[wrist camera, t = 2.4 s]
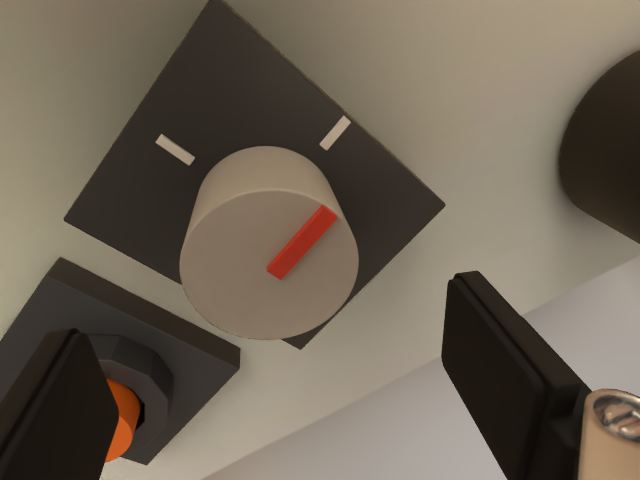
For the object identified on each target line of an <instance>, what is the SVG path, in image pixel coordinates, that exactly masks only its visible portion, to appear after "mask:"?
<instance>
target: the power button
mask: <svg viewBox="0 0 640 480" xmlns="http://www.w3.org/2000/svg"><path fill="white" fill-rule="evenodd" d="M107 382H108V384H109V387H110V389H111V391H112V394H113V396H114V398H115V401H116V403H117V405H118V408H119V421H118V425H117V428H116V431H115V434H114V437H113V440H112V443H111V446H110V449H109V452H108V454H107V457H106V460H105V462H108V461H111V460H113V459H115V458H117V457H119V456H120V455H122V454H123V453H124V452H125V451H126V450H127V449H128V448H129V446H130V444H131V442H132V439H133V435H134V432H135V428H136V424H137V421H138V417H139V413H140V404H139V400H138V399H137V397H136V395H135V394H134V393H133V392H132V391H131V390H130V389H129V388H127V387H126V386H124V385H122V384H119V383H117V382H114V381H112V380H110V379H107Z"/></svg>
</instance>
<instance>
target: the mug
mask: <svg viewBox="0 0 640 480" xmlns="http://www.w3.org/2000/svg"><path fill="white" fill-rule="evenodd" d="M559 165H560V175H561V180H562V184H563V186H564V188H565V190H566V192H567V194H568V196H569V198H570V199H571V200H572V202H573V203H574V204H575V205H576V206H577V207H578V208H580V209H581V210H583V211H584V212H586V213H588V214H589V215H591V216H593V217H594V218H596V219H598V220H600V221H601V222H603V223H605V224H606V225H608V226H610V227H612V228H613V229H615V230H617V231H618V232H620V233H622V234H624V235H625V236H627V237H629V238H630V239H632V240H634V241H635V242H637V243H639V244H640V51H637V52H635V53H634V54H632V55H630V56H628V57H626V58H625V59H623V60H622V61H620V62H619V63H618V64H616V65H615V66H613V67H612V68H611V69H610V70H609V71H607V72H606V73H605V74H604V75H603V76H602V77H601V78H600V79H599V80H598V81H597V82H596V83H595V84H594V85H593V87H592V88H591V89H590V90H589V91H588V92H587V94H586V95H585V96H584V98H583V99H582V101H581V102H580V104H579V105H578V106H577V108H576V110H575V112H574V114H573V116H572V117H571V119H570V122H569V124H568V126H567V129H566V131H565V134H564V137H563V141H562V145H561V150H560V159H559Z"/></svg>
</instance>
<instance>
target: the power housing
mask: <svg viewBox="0 0 640 480" xmlns="http://www.w3.org/2000/svg"><path fill="white" fill-rule="evenodd" d="M70 328H77V329H78V330H79V331H80V333H86V334H87V336H88V337H89V340H90V342H91V344H92V347H93V349H94V351H95V354H96V356H97V358H98V361H99V363H100V365H101V368H102V370H103V372H104V375H105V377H106V379H110V380H112V381H114V382H117V383H119V384H122V385H124V386H126V387H127V388H129V389H130V390H131V391H132V392H133V393H134V394H135V395H136V397H137V399H138V400H139V404H140V413H139V417H138V421H137V424H136V428H135V432H134V435H133V439H132V442H131V444H130V446H129V448H128V449H127V450H126V451H125V452H124V453H123V454H122V455H120V456H119V457H122V458H125V459H128V460H131V461H135V462H138V463H141V464H144V465H148V464H149V463H150V462H151V460H152V459H153V458H154V457H155V456H156V455H157V454H158V453H159V452H160V451H161V450H162V449H163V448H164V447H165V446H166V445H167V444H168V443H169V442H170V441H171V440H172V439H173V438H174V437H175V435H176V434H177V433H178V432H179V431H180V430H181V429H182V428H183V427H184V426H185V425H186V424H187V423H188V422H189V421H190V420H191V419H192V418H193V417H194V416H195V415H196V414H197V413H198V411H199V410H200V409H201V408H202V407H203V406H204V405H205V404H206V403H207V402H208V401H209V400H210V399H211V398H212V397H213V396H214V395H215V394H216V393H217V392H218V391H219V390H220V389H221V388H222V386H223V385H224V384H225V383H226V382H227V381H228V380H229V379H230V378H231V377H232V376H233V375H234V374H235V373H236V372H237V371H238V370H239V368H240V348H238V347H236V346H234V345H232V344H230V343H228V342H226V341H225V340H223V339H221V338H219V337H217V336H215V335H213V334H211V333H209V332H207V331H205V330H203V329H201V328H199V327H197V326H195V325H193V324H191V323H189V322H187V321H185V320H183V319H181V318H179V317H177V316H175V315H173V314H171V313H169V312H167V311H165V310H163V309H161V308H160V307H158V306H156V305H154V304H152V303H150V302H148V301H146V300H144V299H142V298H140V297H138V296H136V295H134V294H132V293H130V292H128V291H126V290H124V289H122V288H120V287H118V286H116V285H114V284H112V283H110V282H108V281H106V280H104V279H102V278H100V277H98V276H96V275H94V274H93V273H91V272H89V271H87V270H85V269H83V268H81V267H79V266H77V265H75V264H73V263H71V262H69V261H67V260H65V259H63V258H61V257H60V258H59V259H58V260H57V261H56V262H55V264H54V265H53V266H52V268H51V269H50V270H49V271H48V273H47V274H46V275H45V277H44V278H43V280H42V281H41V282H40V284H39V285H38V287H37V288H36V290H35V291H34V293H33V294H32V296H31V297H30V298H29V300H28V301H27V303H26V304H25V306H24V307H23V309H22V310H21V312H20V313H19V314H18V316H17V317H16V319H15V320H14V322H13V323H12V325H11V326H10V328H9V329H8V331H7V332H6V333H5V335H4V336H3V338H2V339H1V341H0V403H1V401H2V400H3V398H4V397H5V395H6V394H7V392H8V391H9V389H10V388H11V386H12V385H13V383H14V382H15V380H16V379H17V377H18V376H19V374H20V373H21V371H22V370H23V368H24V367H25V365H26V364H27V362H28V361H29V359H30V358H31V356H32V355H33V353H34V352H35V350H36V349H37V347H38V346H39V344H40V343H41V341H42V340H43V338H44V337H45V335H46V334H47V333H48V332H50V331H56V330H63V329H70Z"/></svg>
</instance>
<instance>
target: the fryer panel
mask: <svg viewBox="0 0 640 480" xmlns="http://www.w3.org/2000/svg"><path fill="white" fill-rule="evenodd" d="M257 146H274V147H280V148H285V149H288V150H291V151H294V152H296V153H298V154H300V155H302V156H304V157H305V158H307V159H308V160H310V161H311V162H312V163H313V164H315V165H316V166H317V167H318V168H319V169H320V171H321V172H322V173H323V174H324V176H325V178H326V179H327V181H328V183H329V185H330V187H331V189H332V191H333V193H334V195H335V197H336V200H337V202H338V204H339V206H340V208H341V210H342V212H343V214H344V216H345V219H346V221H347V223H348V225H349V227H350V229H351V231H352V234H353V236H354V238H355V241H356V245H357V249H358V257H359V263H358V272H357V277H356V281H355V284H354V286H353V289H352V291H351V293H350V295H349V297H348V298H347V300H346V301H345V302H344V304H343V305H342V306H341V307H340V309H339V310H338V311H337V312H336V313H335V314H334V315H333V316H331V317H330V318H329V319H328V320H326V321H325V322H324V323H322V324H321V325H319V326H317V327H315V328H314V329H312V330H309V331H307V332H305V333H302V334H299V335H296V336H293V337H288V338H283V339H281V340H283V341H285V342H287V343H289V344H291V345H292V346H294V347H296V348H298V349H300V350H301V349H302V348H303V347H304V346H305V345H306V344H307V343H308V342H309V341H310V340H311V339H312V338H313V337H314V336H315V335H316V334H317V333H318V332H319V331H320V330H321V329H322V328H323V327H324V326H325V325H326V324H327V323H328V322H329V321H330V320H331V319H332V318H333V317H334V316H335V315H336V314H337V313H338V312H339V311H340V310H341V309H342V308H343V307H344V306H345V305H346V304H347V303H348V302H349V301H350V300H351V299H352V298H353V297H354V296H355V295H356V294H357V293H358V292H359V291H360V290H361V289H362V288H363V287H364V286H365V285H367V284H368V283H369V282H370V281H371V280H372V279H373V278H374V277H375V276H376V275H377V274H378V273H379V272H380V271H381V270H382V269H383V268H384V267H385V266H386V265H387V264H388V263H389V262H390V261H391V260H392V259H393V258H394V257H395V256H396V255H397V254H398V253H399V252H400V251H401V250H402V249H403V248H404V247H405V246H406V245H407V244H408V243H409V242H410V241H411V240H412V239H413V238H414V237H415V236H416V235H417V234H418V233H419V232H420V231H421V230H422V229H423V228H424V227H425V226H426V225H427V224H428V223H429V222H430V221H431V220H432V219H433V218H434V217H435V216H436V215H437V214H438V213H439V212H440V211H441V210H442V209H443V208H444V207H445V203H444V202H443V201H442V200H441V199H440V198H439V197H438V196H437V195H436V194H435V193H434V192H433V191H432V190H430V189H429V188H428V187H427V186H426V185H425V184H424V183H423V182H422V181H421V180H420V179H419V178H418V177H417V176H416V175H415V174H414V173H413V172H412V171H410V170H409V169H408V168H407V167H406V166H405V165H404V164H403V163H402V162H401V161H399V160H398V159H397V158H396V157H395V156H394V155H393V154H392V153H391V152H390V151H388V150H387V149H386V148H385V147H384V146H383V145H382V144H381V143H380V142H379V141H377V140H376V139H375V138H374V137H373V136H372V135H371V134H370V133H369V132H368V131H366V130H365V129H364V128H363V127H362V126H361V125H360V124H359V123H358V122H357V121H355V120H354V119H353V118H352V117H351V116H350V115H349V114H348V113H347V112H346V111H344V110H343V109H342V108H341V107H340V106H339V105H338V104H337V103H336V102H335V101H333V100H332V99H331V98H330V97H329V96H328V95H327V94H326V93H325V92H324V91H322V90H321V89H320V88H319V87H318V86H317V85H316V84H315V83H314V82H313V81H311V80H310V79H309V78H308V77H307V76H306V75H305V74H304V73H303V72H302V71H300V70H299V69H298V68H297V67H296V66H295V65H294V64H293V63H292V62H291V61H289V60H288V59H287V58H286V57H285V56H284V55H283V54H282V53H281V52H280V51H278V50H277V49H276V48H275V47H274V46H273V45H272V44H271V43H270V42H269V41H267V40H266V39H265V38H264V37H263V36H262V35H261V34H260V33H259V32H258V31H256V30H255V29H254V28H253V27H252V26H251V25H250V24H249V23H248V22H247V21H245V20H244V19H243V18H242V17H241V16H240V15H239V14H238V13H237V12H236V11H234V10H233V9H232V8H231V7H230V6H229V5H228V4H227V3H226V2H225V1H223V0H209V1H208V3H207V4H206V6H205V7H204V9H203V10H202V12H201V13H200V15H199V16H198V18H197V19H196V21H195V22H194V24H193V25H192V27H191V28H190V30H189V31H188V33H187V34H186V36H185V37H184V39H183V40H182V42H181V43H180V45H179V46H178V48H177V49H176V51H175V52H174V54H173V55H172V57H171V58H170V60H169V61H168V63H167V64H166V66H165V67H164V69H163V70H162V72H161V73H160V75H159V76H158V78H157V79H156V81H155V82H154V84H153V85H152V87H151V88H150V90H149V91H148V93H147V94H146V96H145V97H144V99H143V100H142V102H141V103H140V105H139V106H138V108H137V109H136V111H135V112H134V114H133V115H132V117H131V118H130V120H129V121H128V123H127V124H126V126H125V127H124V129H123V130H122V132H121V133H120V135H119V136H118V138H117V139H116V141H115V142H114V144H113V145H112V147H111V148H110V150H109V151H108V153H107V154H106V156H105V157H104V159H103V160H102V162H101V163H100V165H99V166H98V168H97V169H96V171H95V172H94V174H93V175H92V177H91V178H90V180H89V181H88V183H87V184H86V186H85V187H84V189H83V190H82V192H81V193H80V195H79V196H78V198H77V199H76V201H75V202H74V204H73V205H72V207H71V208H70V210H69V211H68V213H67V214H66V216H65V217H64V221H65V222H67V223H69V224H71V225H72V226H74V227H76V228H78V229H80V230H82V231H83V232H85V233H87V234H89V235H91V236H93V237H94V238H96V239H98V240H100V241H102V242H104V243H105V244H107V245H109V246H111V247H113V248H115V249H116V250H118V251H120V252H122V253H124V254H126V255H127V256H129V257H131V258H133V259H135V260H137V261H138V262H140V263H142V264H144V265H146V266H148V267H149V268H151V269H153V270H155V271H157V272H159V273H160V274H162V275H164V276H166V277H168V278H170V279H171V280H173V281H175V282H177V283H179V284H181V285H182V282H181V277H180V264H179V263H180V255H181V250H182V247H183V244H184V240H185V237H186V233H187V230H188V226H189V223H190V220H191V216H192V213H193V209H194V206H195V202H196V199H197V195H198V192H199V189H200V187H201V184H202V182H203V180H204V179H205V177H206V176H207V174H208V173H209V172H210V171H211V169H212V168H213V167H214V166H215V165H216V164H218V163H219V162H220V161H221V160H223V159H224V158H226V157H227V156H229V155H231V154H233V153H235V152H237V151H240V150H243V149H246V148H251V147H257Z"/></svg>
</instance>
